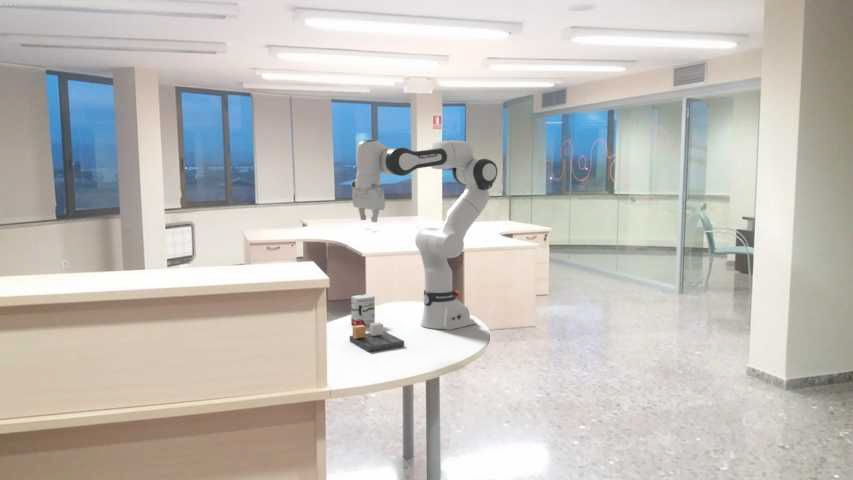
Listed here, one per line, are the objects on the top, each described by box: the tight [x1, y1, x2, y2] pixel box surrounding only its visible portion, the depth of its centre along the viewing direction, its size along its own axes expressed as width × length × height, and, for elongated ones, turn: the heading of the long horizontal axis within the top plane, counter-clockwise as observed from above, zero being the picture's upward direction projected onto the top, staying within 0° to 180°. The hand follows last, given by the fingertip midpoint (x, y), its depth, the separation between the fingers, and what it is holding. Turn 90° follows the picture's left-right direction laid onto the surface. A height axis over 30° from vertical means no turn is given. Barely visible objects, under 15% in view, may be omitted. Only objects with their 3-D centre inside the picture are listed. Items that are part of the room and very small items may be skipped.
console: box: [349, 330, 405, 353], centre depth 235 cm, size 14×16×2 cm
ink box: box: [350, 293, 376, 327], centre depth 262 cm, size 8×5×12 cm, turn 123°
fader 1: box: [352, 325, 367, 339], centre depth 235 cm, size 4×2×4 cm, turn 121°
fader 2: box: [369, 322, 384, 336], centre depth 239 cm, size 4×2×4 cm, turn 121°
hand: (368, 220), depth 241 cm, fingers open, 8 cm apart
